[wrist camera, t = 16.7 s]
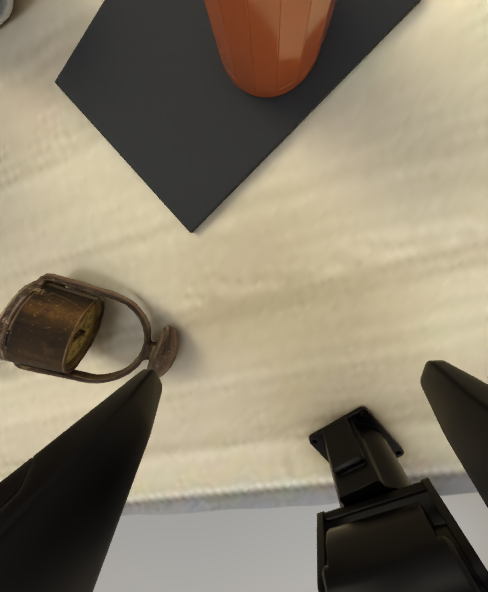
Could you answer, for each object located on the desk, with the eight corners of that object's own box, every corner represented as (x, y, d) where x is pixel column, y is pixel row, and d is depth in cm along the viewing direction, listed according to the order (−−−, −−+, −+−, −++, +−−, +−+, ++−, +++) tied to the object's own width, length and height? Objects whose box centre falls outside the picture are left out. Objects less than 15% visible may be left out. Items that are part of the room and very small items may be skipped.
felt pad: (421, -1, 14) (426, -9, 13) (192, 232, 19) (190, 232, 18) (268, -250, 12) (268, -270, 11) (60, 85, 17) (54, 81, 17)
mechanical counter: (24, 230, 15) (-75, 340, 15) (169, 370, 15) (67, 473, 16) (98, 247, 22) (29, 322, 22) (195, 342, 22) (125, 413, 23)
